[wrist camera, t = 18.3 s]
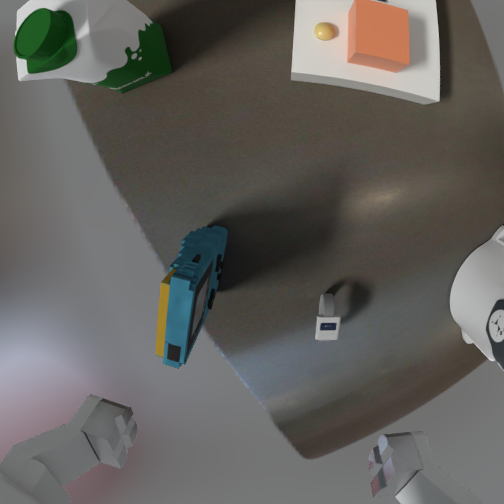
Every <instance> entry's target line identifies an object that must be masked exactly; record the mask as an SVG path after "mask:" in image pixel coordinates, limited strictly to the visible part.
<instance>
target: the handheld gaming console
mask: <svg viewBox="0 0 504 504" xmlns="http://www.w3.org/2000/svg"><path fill="white" fill-rule="evenodd" d="M227 236H228V230H226V227H221V226H217V225H214V226H213V227H212V228H208V227H203V228H202V229H200V228H198V229H197V230H196V231H195V232H194V231H191V232H190V233H189V234H188V235H187V236H186V237H185V238H184V239H183V240H182V245H181V249H180V252H179V253H178V258H177V259H176V260H175V261H174V262H173V263H172V264H171V265H170V267H169V274H168V275H167V276H166V277H165V278H164V280H163V281H162V282H161V287H160V298H159V299H160V300H159V311H158V324H157V339H156V356H159V357H162V358H163V364H165V365H169V366H172V367H175V368H178V369H179V367H180V366H181V365H182V364H185V363H186V361H187V359H188V357H189V354H190V352H191V350H192V348H193V345H194V343H195V341H196V339H197V336H198V334H199V332H200V330H201V327H202V325H203V323H204V321H205V318H206V316H207V314H208V312H209V309H211V308H212V305H213V300H214V298H215V295H216V292H217V287H218V283H219V281H220V278H221V269H222V268H223V263H224V262H223V258H224V253H225V248H226V243H227V238H228V237H227Z"/></svg>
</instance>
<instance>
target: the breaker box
mask: <svg viewBox="0 0 504 504" xmlns="http://www.w3.org/2000/svg"><path fill="white" fill-rule="evenodd" d="M371 1H376V2H380V3H384V4H388V5H391V6H395V7H399V8H402V9H405V10H408V19H409V56H410V61H409V65H408V66H406V67H405V68H403V69H401V70H400V71H398V72H396V73H394V72H390V71H386V70H381V69H377V68H372V67H367V66H362V65H357V64H352V63H347V51H348V12H349V10H350V8H351V6H352V4H353V2H354V0H296V6H295V24H294V41H293V56H292V71H291V80H295V81H305V82H313V83H321V84H328V85H335V86H342V87H348V88H353V89H359V90H364V91H369V92H374V93H379V94H384V95H388V96H393V97H397V98H401V99H405V100H409V101H413V102H417V103H420V104H424V105H425V104H430V103H434V102H439V99H440V51H439V32H438V19H437V9H436V0H384V1H383V2H382V1H378V0H371Z"/></svg>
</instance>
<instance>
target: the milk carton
mask: <svg viewBox="0 0 504 504" xmlns="http://www.w3.org/2000/svg"><path fill="white" fill-rule="evenodd" d="M14 53H15V55H16V56H17V70H18V79H19V80H20V81H24V80H34V79H49V78H65V79H71V80H76V81H81V82H86V83H91V84H95V85H100V86H104V87H107V88H110V89H113V90H115V91H118V92H121V93H125V92H127V91H129V90H131V89H134V88H136V87H138V86H141V85H143V84H145V83H148V82H150V81H153V80H155V79H158V78H160V77H163V76H165V75H168V74H171V73H173V72H172V68H171V63H170V59H169V55H168V51H167V47H166V42H165V38H164V34H163V29H162V26H161V25H160V24H158V23H156V22H155V21H153V20H151V19H150V18H149V17H148V16H146V15H145V14H144V13H142V12H141V11H140V10H139V9H137V8H136V7H135V6H133V5H132V4H131V3H129V2H128V1H127V0H30V1H28V2H27V3H26V4H25V5H24V6H22V7H21V8H20V9H19V10H18V11H17V31H16V32H15V40H14Z"/></svg>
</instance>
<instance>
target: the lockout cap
mask: <svg viewBox="0 0 504 504" xmlns="http://www.w3.org/2000/svg"><path fill="white" fill-rule="evenodd" d="M409 61H410V56H409V19H408V10H405V9H402V8H399V7H395V6H391V5H388V4H384V3H380V2H376V1H371V0H354V2H353V4H352V6H351V8H350V10H349V12H348V51H347V63H352V64H357V65H362V66H367V67H372V68H377V69H381V70H386V71H390V72H394V73H396V72H398V71H400V70H401V69H403V68H405V67H406V66H408V65H409Z"/></svg>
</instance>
